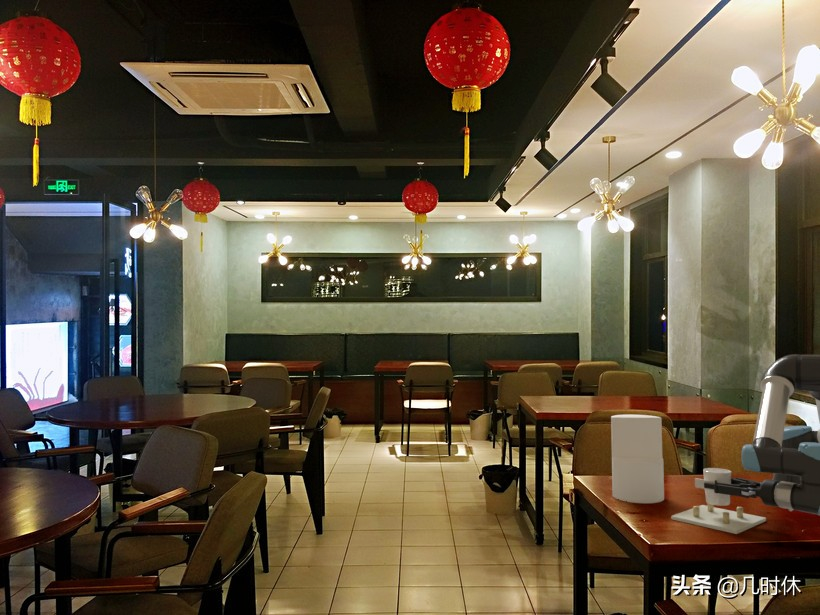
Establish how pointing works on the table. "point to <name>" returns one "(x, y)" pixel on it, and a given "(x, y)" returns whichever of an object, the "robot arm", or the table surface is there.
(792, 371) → the robot arm
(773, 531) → the table surface
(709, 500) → the white cup
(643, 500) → the cylinder
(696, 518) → the standoff plate
